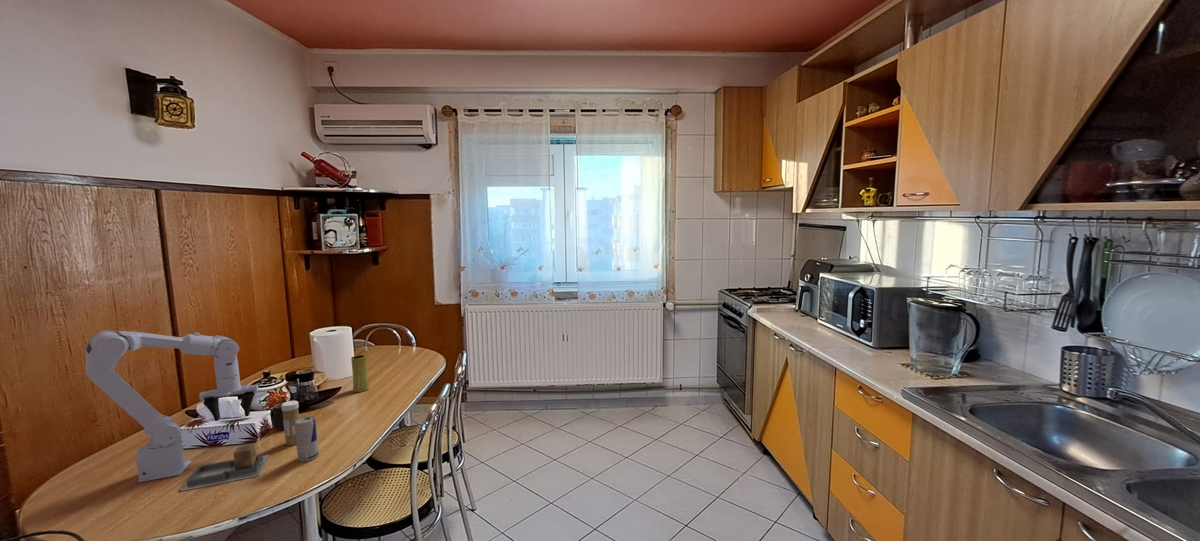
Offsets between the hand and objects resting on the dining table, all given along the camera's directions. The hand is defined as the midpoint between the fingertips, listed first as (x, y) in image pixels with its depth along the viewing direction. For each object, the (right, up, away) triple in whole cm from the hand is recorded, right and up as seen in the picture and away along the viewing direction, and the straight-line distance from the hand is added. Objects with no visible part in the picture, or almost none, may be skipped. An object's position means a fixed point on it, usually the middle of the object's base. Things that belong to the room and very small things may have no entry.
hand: (232, 417), depth 148 cm
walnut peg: (+13, -11, -11) cm, 20 cm away
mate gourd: (+6, -9, +17) cm, 19 cm away
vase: (+15, -4, +50) cm, 52 cm away
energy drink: (+27, -11, -5) cm, 29 cm away
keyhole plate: (+9, -12, -12) cm, 19 cm away
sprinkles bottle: (+16, -10, +5) cm, 19 cm away
